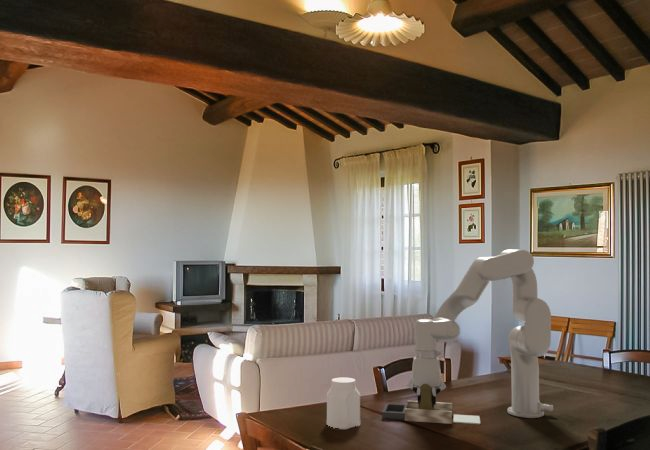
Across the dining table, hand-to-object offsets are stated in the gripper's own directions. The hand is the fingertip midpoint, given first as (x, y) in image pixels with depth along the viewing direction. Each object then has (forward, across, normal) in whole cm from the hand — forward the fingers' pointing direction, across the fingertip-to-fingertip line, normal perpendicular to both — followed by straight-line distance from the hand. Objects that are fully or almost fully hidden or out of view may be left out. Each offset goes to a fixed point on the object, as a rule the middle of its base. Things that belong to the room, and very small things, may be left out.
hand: (426, 405), depth 208 cm
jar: (+4, +27, +15) cm, 31 cm away
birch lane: (+4, -1, 0) cm, 4 cm away
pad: (+4, -14, 0) cm, 14 cm away
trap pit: (+4, +11, 0) cm, 12 cm away
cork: (+2, 0, 0) cm, 2 cm away
